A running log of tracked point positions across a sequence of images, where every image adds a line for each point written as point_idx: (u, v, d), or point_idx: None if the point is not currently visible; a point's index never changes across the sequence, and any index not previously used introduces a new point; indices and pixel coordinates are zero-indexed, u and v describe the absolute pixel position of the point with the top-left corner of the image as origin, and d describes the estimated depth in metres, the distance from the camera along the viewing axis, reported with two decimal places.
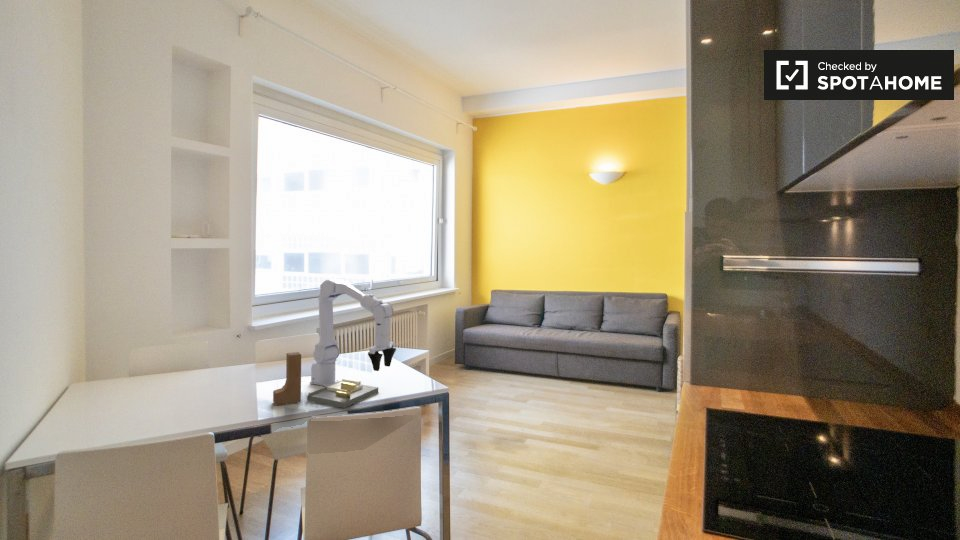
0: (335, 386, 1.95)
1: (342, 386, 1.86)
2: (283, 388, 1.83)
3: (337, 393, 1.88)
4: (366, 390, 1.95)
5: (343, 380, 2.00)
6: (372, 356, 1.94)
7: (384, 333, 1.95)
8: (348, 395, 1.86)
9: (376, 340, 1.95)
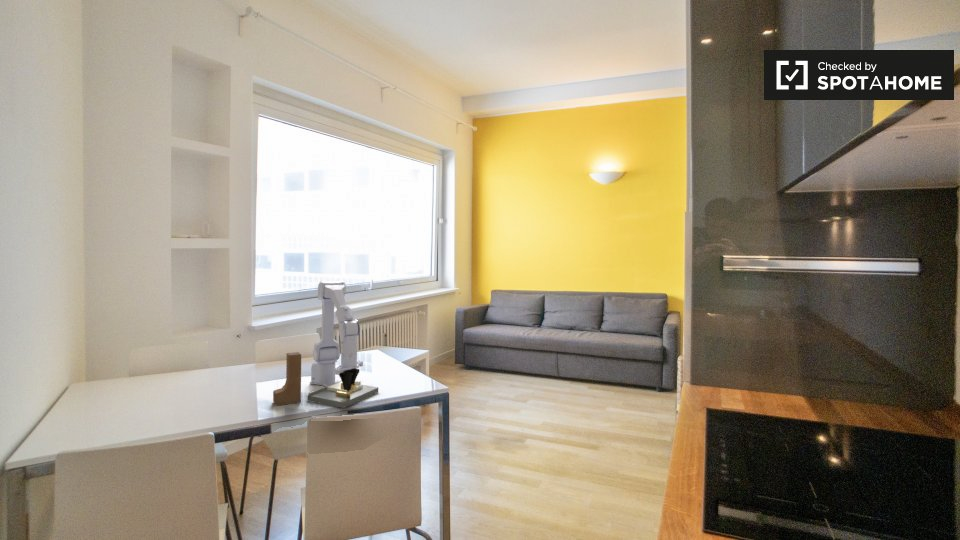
0: (335, 386, 1.95)
1: (342, 386, 1.86)
2: (283, 388, 1.83)
3: (337, 393, 1.88)
4: (366, 390, 1.95)
5: None
6: (342, 375, 1.84)
7: (346, 352, 1.83)
8: (348, 395, 1.86)
9: (342, 360, 1.84)
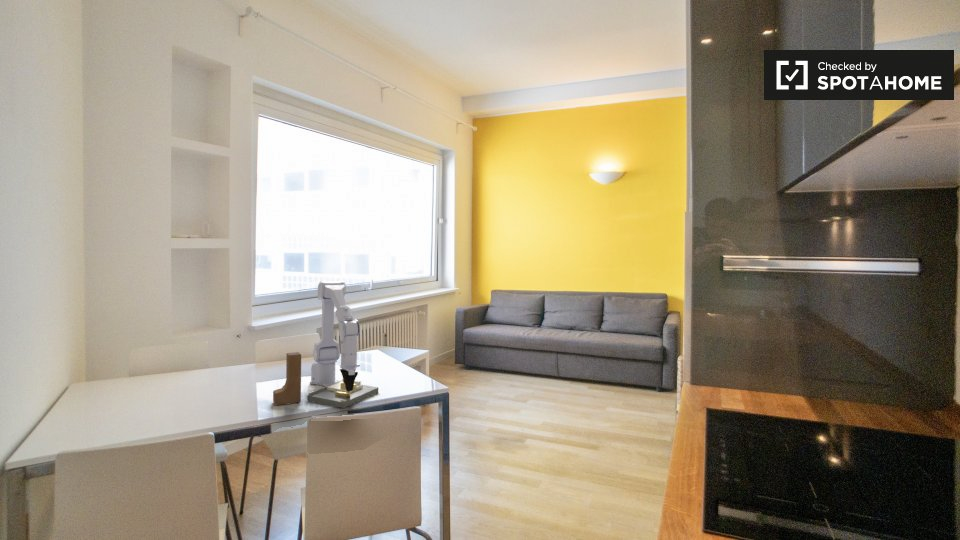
0: (335, 386, 1.95)
1: (342, 386, 1.86)
2: (283, 388, 1.83)
3: (337, 393, 1.87)
4: (366, 390, 1.95)
5: None
6: (346, 376, 1.83)
7: (346, 352, 1.82)
8: (348, 395, 1.86)
9: (347, 360, 1.83)
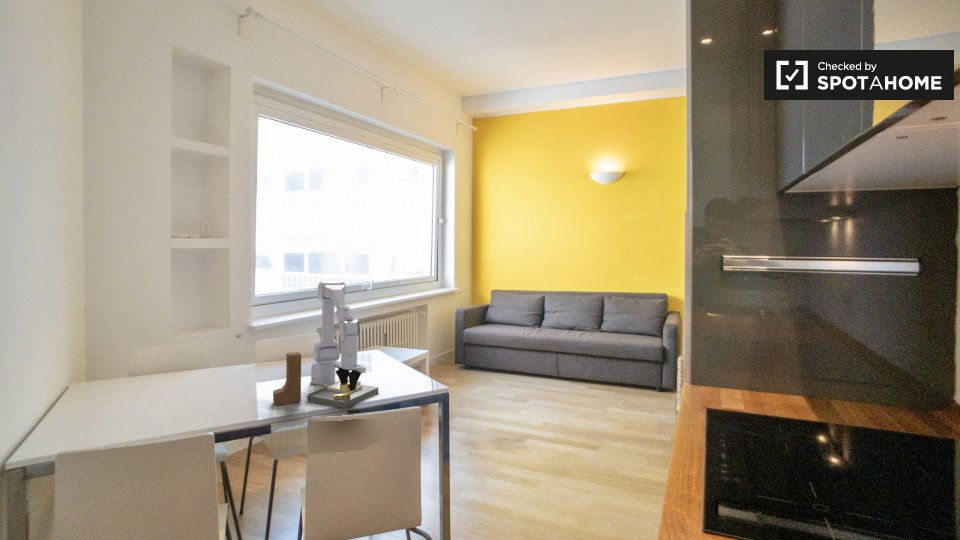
0: (335, 386, 1.95)
1: (343, 388, 1.84)
2: (283, 388, 1.83)
3: (336, 397, 1.83)
4: (366, 390, 1.95)
5: None
6: None
7: (346, 352, 1.83)
8: (349, 395, 1.86)
9: (352, 360, 1.83)
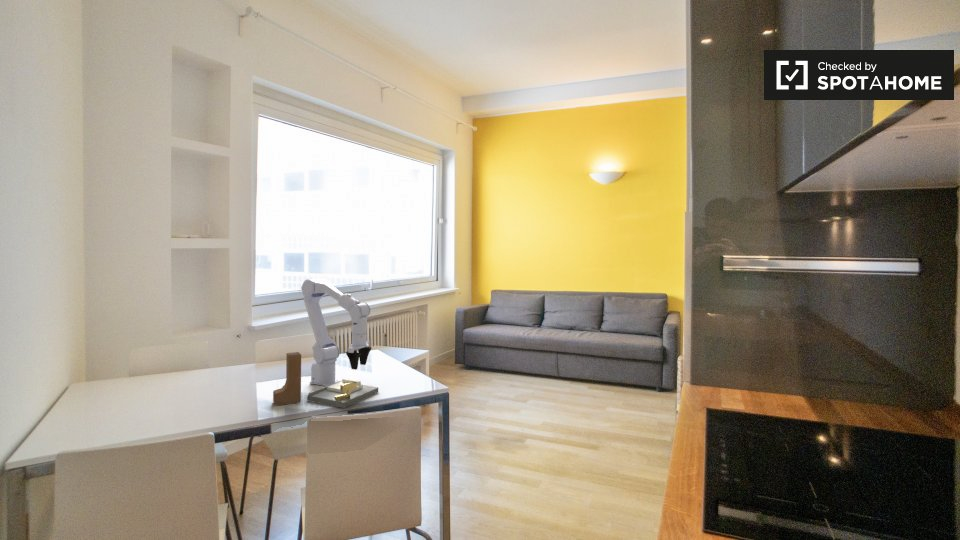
0: (335, 386, 1.95)
1: (344, 388, 1.84)
2: (283, 388, 1.83)
3: (338, 397, 1.83)
4: (366, 390, 1.95)
5: (343, 380, 2.00)
6: (350, 355, 1.97)
7: (360, 332, 1.98)
8: None
9: (353, 339, 1.99)
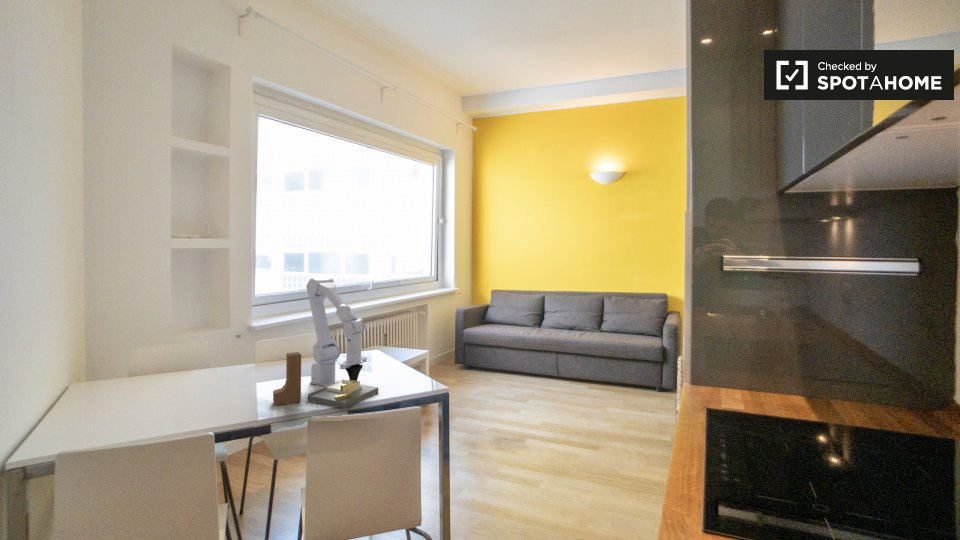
0: (334, 386, 1.95)
1: (344, 388, 1.84)
2: (283, 388, 1.83)
3: (338, 397, 1.83)
4: (366, 390, 1.95)
5: (342, 380, 2.00)
6: (349, 369, 2.00)
7: (354, 349, 1.97)
8: None
9: (347, 355, 1.98)
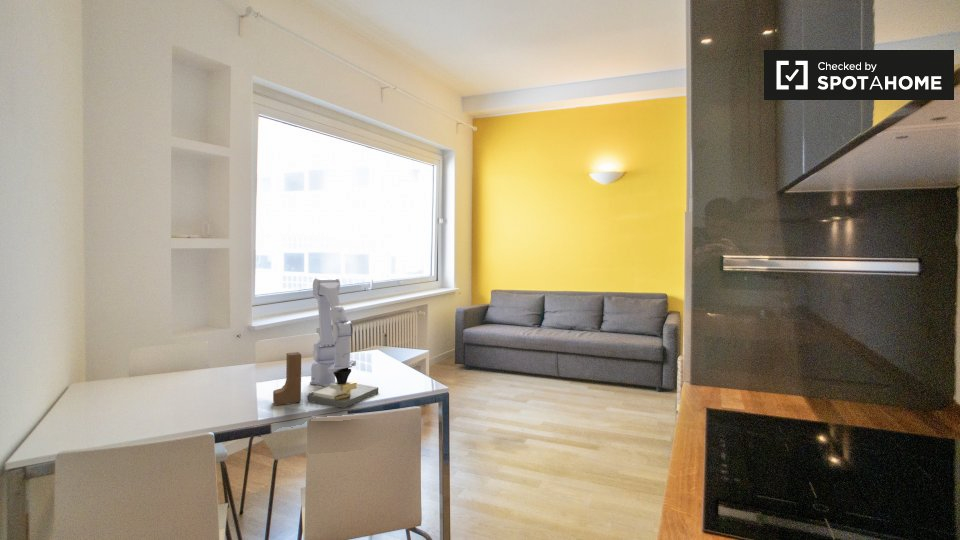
0: (322, 391, 1.88)
1: (344, 388, 1.84)
2: (283, 388, 1.83)
3: (338, 397, 1.83)
4: (366, 390, 1.95)
5: (330, 385, 1.94)
6: (337, 373, 1.93)
7: (339, 352, 1.91)
8: None
9: (335, 359, 1.92)
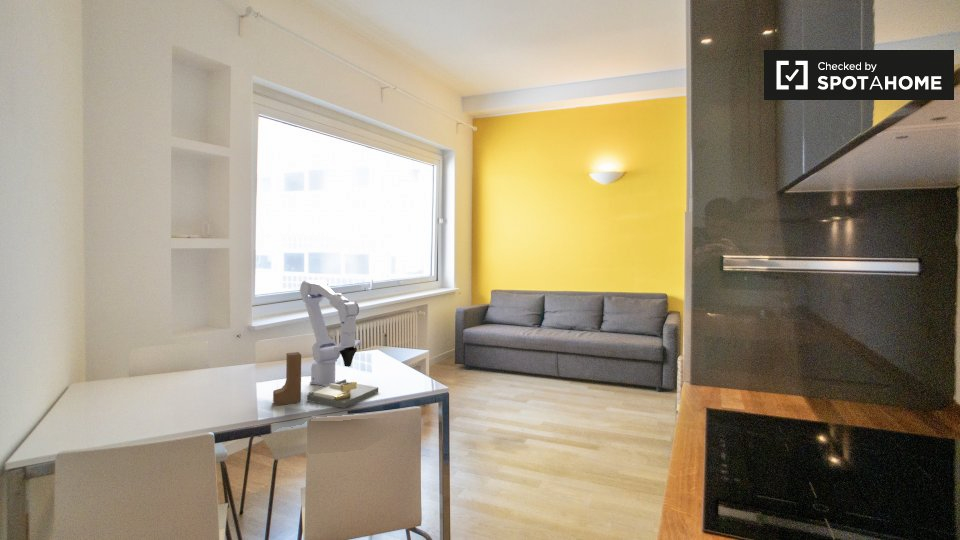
0: (322, 391, 1.88)
1: (344, 388, 1.84)
2: (283, 388, 1.83)
3: (338, 397, 1.83)
4: (366, 390, 1.95)
5: (330, 385, 1.94)
6: (343, 352, 1.99)
7: (347, 331, 1.97)
8: None
9: (341, 338, 1.98)
